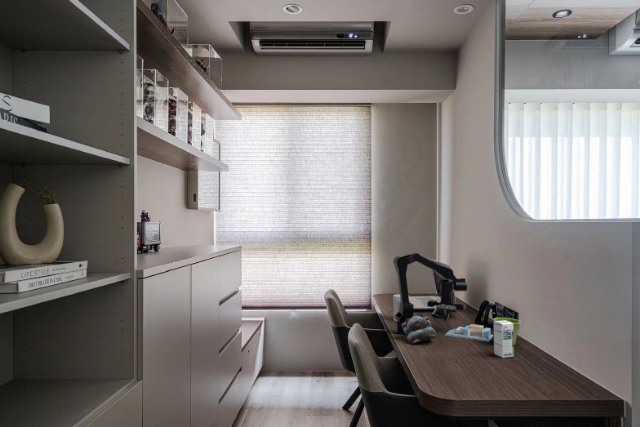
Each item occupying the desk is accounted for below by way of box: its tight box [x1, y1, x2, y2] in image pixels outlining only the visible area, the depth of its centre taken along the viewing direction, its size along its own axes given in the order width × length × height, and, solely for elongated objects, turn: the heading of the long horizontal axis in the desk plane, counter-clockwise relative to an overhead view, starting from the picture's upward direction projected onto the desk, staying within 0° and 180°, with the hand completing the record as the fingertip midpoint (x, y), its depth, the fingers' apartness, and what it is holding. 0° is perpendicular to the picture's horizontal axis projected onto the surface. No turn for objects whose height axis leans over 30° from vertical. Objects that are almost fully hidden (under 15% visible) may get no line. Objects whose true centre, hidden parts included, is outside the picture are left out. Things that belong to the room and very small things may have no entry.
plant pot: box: [493, 317, 522, 346], centre depth 199 cm, size 12×12×11 cm
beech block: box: [469, 323, 485, 337], centre depth 212 cm, size 4×6×5 cm, turn 59°
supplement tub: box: [392, 293, 411, 323], centre depth 246 cm, size 10×10×15 cm
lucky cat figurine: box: [402, 314, 438, 345], centre depth 204 cm, size 15×12×14 cm
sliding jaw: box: [455, 325, 470, 336], centre depth 215 cm, size 9×6×4 cm
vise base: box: [444, 327, 494, 342], centre depth 213 cm, size 12×21×4 cm, turn 59°
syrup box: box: [493, 320, 515, 359], centre depth 182 cm, size 6×6×14 cm
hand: (446, 321), depth 220 cm, fingers closed
